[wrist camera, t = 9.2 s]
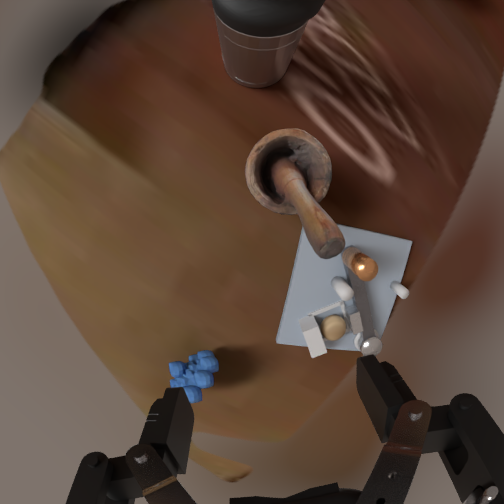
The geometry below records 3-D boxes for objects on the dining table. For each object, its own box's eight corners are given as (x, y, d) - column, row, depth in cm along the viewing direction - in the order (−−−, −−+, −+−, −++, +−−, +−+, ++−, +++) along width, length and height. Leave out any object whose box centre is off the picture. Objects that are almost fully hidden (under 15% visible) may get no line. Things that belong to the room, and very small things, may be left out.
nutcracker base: (304, 217, 43) (313, 223, 37) (408, 239, 44) (428, 248, 38) (275, 339, 48) (279, 360, 42) (373, 348, 49) (385, 366, 43)
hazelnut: (321, 308, 45) (328, 320, 41) (345, 311, 45) (352, 323, 42) (314, 331, 46) (320, 344, 42) (337, 333, 46) (344, 346, 43)
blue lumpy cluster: (198, 320, 46) (185, 364, 35) (230, 345, 48) (227, 392, 36) (157, 362, 48) (139, 407, 37) (188, 383, 50) (177, 431, 38)
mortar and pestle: (332, 190, 42) (398, 205, 23) (288, 230, 43) (323, 276, 24) (277, 130, 40) (305, 94, 20) (232, 171, 41) (221, 169, 22)
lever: (378, 344, 47) (397, 371, 39) (354, 354, 47) (371, 382, 39) (355, 240, 42) (378, 254, 34) (328, 250, 42) (346, 267, 34)
